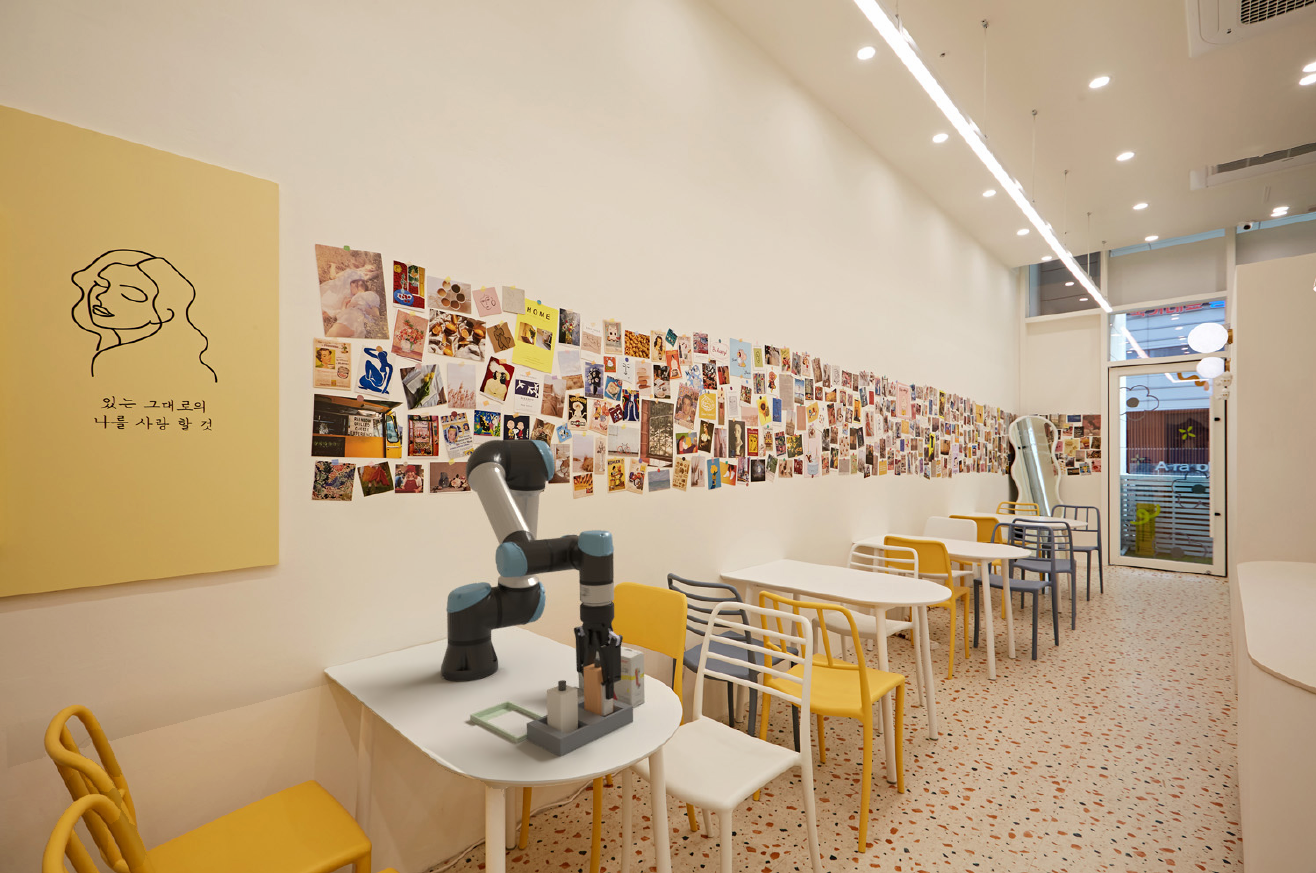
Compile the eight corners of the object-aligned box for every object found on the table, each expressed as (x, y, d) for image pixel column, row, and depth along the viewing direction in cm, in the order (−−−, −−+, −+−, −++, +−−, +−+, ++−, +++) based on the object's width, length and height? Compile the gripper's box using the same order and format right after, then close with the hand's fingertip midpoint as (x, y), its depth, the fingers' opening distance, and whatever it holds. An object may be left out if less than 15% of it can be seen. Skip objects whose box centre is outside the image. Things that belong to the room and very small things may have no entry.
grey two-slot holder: (526, 743, 124) (526, 723, 124) (599, 711, 139) (598, 693, 139) (560, 760, 116) (560, 739, 117) (633, 724, 131) (632, 706, 131)
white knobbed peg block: (547, 739, 124) (546, 682, 124) (564, 731, 127) (563, 676, 127) (561, 746, 121) (560, 687, 121) (578, 738, 124) (577, 681, 124)
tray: (470, 721, 135) (470, 714, 135) (508, 707, 142) (508, 700, 142) (517, 745, 123) (517, 738, 123) (556, 728, 130) (556, 721, 130)
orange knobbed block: (584, 713, 131) (583, 659, 132) (599, 707, 134) (598, 654, 135) (598, 719, 128) (597, 664, 129) (613, 712, 131) (612, 658, 132)
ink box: (605, 700, 145) (604, 650, 146) (620, 693, 149) (619, 645, 149) (631, 709, 140) (630, 657, 140) (645, 702, 143) (644, 652, 144)
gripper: (558, 599, 135) (560, 705, 134) (611, 611, 124) (614, 727, 123) (583, 593, 141) (585, 695, 140) (637, 604, 129) (639, 715, 128)
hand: (599, 709), depth 131 cm, fingers closed on orange knobbed block, 4 cm apart
